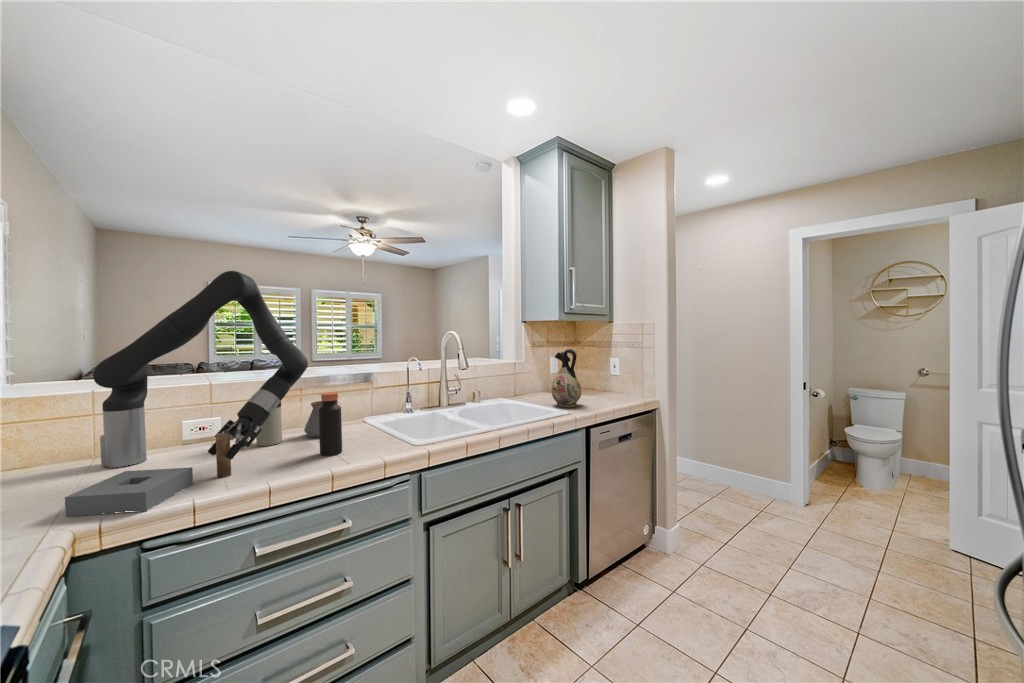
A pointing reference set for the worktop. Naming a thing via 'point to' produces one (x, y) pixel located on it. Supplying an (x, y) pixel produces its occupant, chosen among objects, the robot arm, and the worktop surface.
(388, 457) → the worktop surface
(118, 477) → the hole block
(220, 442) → the peg
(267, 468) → the worktop surface
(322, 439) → the bottle
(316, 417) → the coffee pot
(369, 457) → the worktop surface
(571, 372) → the ceramic jug
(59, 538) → the worktop surface
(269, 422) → the travel mug
